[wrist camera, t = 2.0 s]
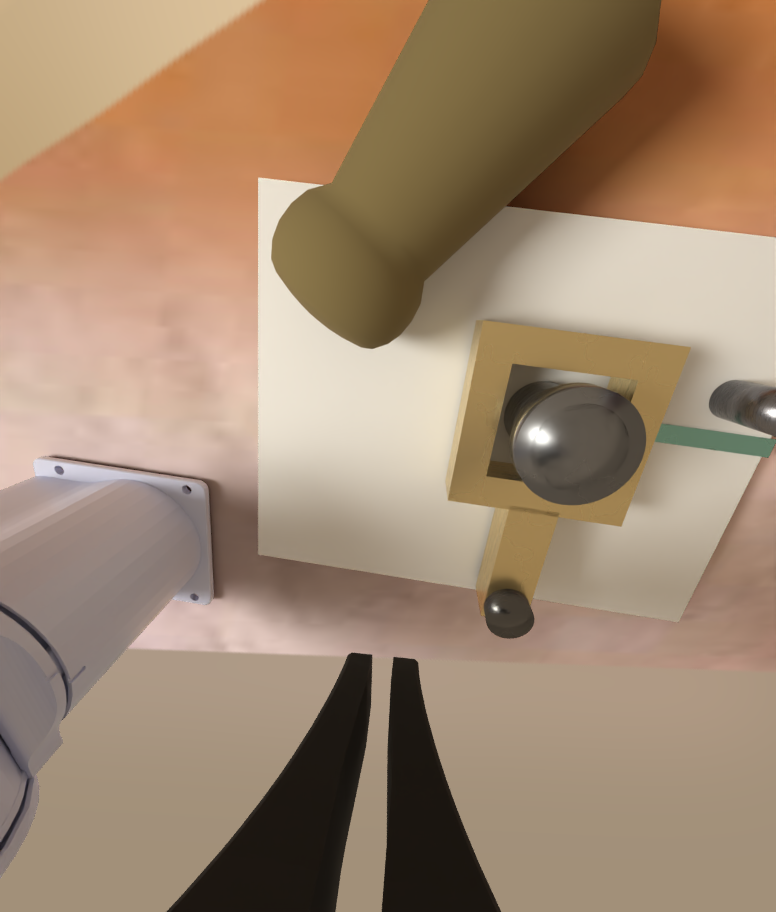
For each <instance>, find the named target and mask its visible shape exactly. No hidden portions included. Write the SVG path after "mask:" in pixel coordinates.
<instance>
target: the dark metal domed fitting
mask: <svg viewBox="0 0 776 912" xmlns="http://www.w3.org/2000/svg"><path fill="white" fill-rule="evenodd" d="M709 409H710V411H711V413H712V414H713V415H714V416H716V417H718V418H721V419H724V420H727V421H730V422H733V423H736V424H739V425H742V426H745V427H748V428H751V429H754V430H757V431H760V432H763V433H766V434H769V435H772V436H775V437H776V387H773V386H768V385H763V384H758V383H752V382H747V381H742V380H730V381H727V382H725V383H723V384H721V385H720V386H718V387H717V388H716V389H715V390H714V391H713V393H712V395H711V397H710V399H709ZM504 425H505V429H506V431H507V433H508V435H509V436H510V439H509V450H510V456H511V460H512V463H513V465H514V467H515V469H516V471H517V472H518V474H519V476H520V477H521V479H522V480H523V482H524V483H525V485H526V486H527V487H528V488H529V489H530V490H531V491H532V492H533V493H534V494H536V495H537V496H539V497H541V498H543V499H545V500H547V501H550V502H552V503H556V504H561V505H582V504H588V503H592V502H595V501H598V500H601V499H603V498H605V497H607V496H609V495H611V494H613V493H614V492H616V491H617V490H618V489H620V488H621V487H622V486H624V485H625V484H626V483H627V482H628V481H629V480H630V478H631V477H632V476H633V475H634V473H635V472H636V470H637V469H638V467H639V465H640V463H641V461H642V459H643V455H644V452H645V447H646V430H645V425H644V422H643V419H642V417H641V415H640V413H639V412H638V410H637V409H636V407H635V406H634V405H633V404H632V403H631V402H630V401H629V400H627V399H626V398H625V397H623V396H621V395H620V394H618V393H616V392H613V391H611V390H608V389H606V388H603V387H600V386H597V385H594V384H589V383H580V382H577V383H567V384H561V385H559V384H557V383H554V382H550V381H538V382H533V383H530V384H528V385H525V386H524V387H522V388H520V389H519V390H518V391H517V392H516V393H515V394H514V395H513V396H512V397H511V398H510V400H509V401H508V403H507V406H506V408H505V412H504ZM655 442H660V443H667V444H674V445H681V446H688V447H696V448H703V449H710V450H717V451H724V452H731V453H738V454H745V455H752V456H759V457H767V458H768V457H769V455H770V453H771V451H772V450H773V448H774V446H775V444H776V439H770V438H763V437H755V436H748V435H741V434H734V433H727V432H719V431H712V430H705V429H698V428H691V427H683V426H676V425H669V424H661V426H660V429H659V431H658V434H657V437H656V439H655Z"/></svg>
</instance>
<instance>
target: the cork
mask: <svg viewBox="0 0 776 912" xmlns="http://www.w3.org/2000/svg"><path fill="white" fill-rule="evenodd" d="M660 6H661V0H429V1H428V3H427V4H426V6H425V8H424V10H423V12H422V14H421V16H420V18H419V19H418V21H417V23H416V25H415V27H414V29H413V31H412V33H411V35H410V36H409V38H408V40H407V42H406V44H405V46H404V48H403V50H402V52H401V53H400V55H399V57H398V59H397V61H396V63H395V65H394V67H393V69H392V70H391V72H390V74H389V76H388V78H387V80H386V82H385V84H384V85H383V87H382V89H381V91H380V93H379V95H378V97H377V99H376V101H375V102H374V104H373V106H372V108H371V110H370V112H369V114H368V116H367V118H366V119H365V121H364V123H363V125H362V127H361V129H360V131H359V133H358V135H357V136H356V138H355V140H354V142H353V144H352V146H351V148H350V150H349V151H348V153H347V155H346V157H345V159H344V161H343V163H342V165H341V167H340V168H339V170H338V172H337V174H336V176H335V178H334V180H333V182H332V183H330V184H326V185H323V186H319V187H315V188H312V189H308V190H307V191H305V192H304V193H303V194H302V195H300V196H299V197H298V198H297V199H296V200H294V201H293V202H292V203H291V204H290V205H289V207H288V208H287V210H286V211H285V212H284V214H283V215H282V217H281V218H280V219H279V222H278V224H277V227H276V230H275V232H274V235H273V238H272V251H271V260H272V262H273V265H274V268H275V271H276V273H277V274H278V275H279V277H280V278H281V280H282V281H283V282H284V284H285V285H286V287H287V288H288V289H289V291H290V292H291V293H292V295H293V296H294V297H295V298H296V299H297V300H298V301H299V303H300V304H301V305H302V306H303V307H304V308H305V309H306V310H307V311H308V312H309V313H310V314H311V315H312V316H313V317H315V318H316V319H317V320H318V321H319V322H320V323H322V324H323V325H324V326H325V327H327V328H328V329H329V330H331V331H332V332H334V333H336V334H337V335H339V336H340V337H342V338H344V339H345V340H347V341H349V342H351V343H353V344H355V345H357V346H359V347H361V348H367V349H375V348H377V347H380V346H383V345H386V344H389V343H390V342H391V341H393V340H394V339H396V338H397V337H398V336H400V335H401V334H402V333H403V331H404V330H405V329H406V328H407V327H408V325H409V324H410V323H411V322H412V320H413V318H414V316H415V314H416V312H417V310H418V308H419V306H420V304H421V299H422V293H423V287H424V281H425V280H426V279H428V278H429V277H430V276H431V275H432V274H433V273H434V272H435V271H436V270H437V269H438V268H439V267H441V266H442V265H443V264H444V263H445V262H446V261H447V260H448V259H449V258H450V257H451V256H452V255H453V254H455V253H456V252H457V251H458V250H459V249H460V248H461V247H462V246H463V245H464V244H465V243H466V242H467V241H469V240H470V239H471V238H472V237H473V236H474V235H475V234H476V233H477V232H478V231H479V230H480V229H481V228H483V227H484V226H485V225H486V224H487V223H488V222H489V221H490V220H491V219H492V218H493V217H494V216H495V215H497V214H498V213H499V212H500V211H501V210H502V209H503V208H504V207H505V206H506V205H507V204H508V203H509V202H511V201H512V200H513V199H514V198H515V197H516V196H517V195H518V194H519V193H520V192H521V191H522V190H524V189H525V188H526V187H527V186H528V185H529V184H530V183H531V182H532V181H533V180H534V179H535V178H536V177H538V176H539V175H540V174H541V173H542V172H543V171H544V170H545V169H546V168H547V167H548V166H549V165H550V164H552V163H553V162H554V161H555V160H556V159H557V158H558V157H559V156H560V155H561V154H562V153H563V152H564V151H566V150H567V149H568V148H569V147H570V146H571V145H572V144H573V143H574V142H575V141H576V140H577V139H578V138H580V137H581V136H582V135H583V134H584V133H585V132H586V131H587V130H588V129H589V128H590V127H591V126H592V125H594V124H595V123H596V122H597V121H598V120H599V119H600V118H601V117H602V116H603V115H604V114H605V113H607V112H608V111H609V110H610V109H611V108H612V107H613V106H614V105H615V104H616V103H617V102H618V101H619V100H621V99H622V98H623V97H624V96H625V95H626V93H627V92H628V91H629V90H630V89H631V88H632V87H633V85H634V84H635V83H636V82H637V81H638V80H639V79H640V77H641V76H642V75H643V73H644V70H645V68H646V65H647V63H648V60H649V58H650V56H651V53H652V51H653V48H654V46H655V43H656V39H657V30H658V22H659V14H660Z"/></svg>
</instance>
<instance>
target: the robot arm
mask: <svg viewBox="0 0 776 912" xmlns="http://www.w3.org/2000/svg"><path fill="white" fill-rule="evenodd" d="M33 467H34V471H35V477H32V478H30V479H27V480H25V481H22V482H20V483H17V484H15V485H12V486H10V487H8V488H5V489H3V490H0V878H1V877H2V875H3V873H4V872H5V871H6V869H7V868H8V866H9V864H10V863H11V862H12V860H13V859H14V857H15V856H16V854H17V852H18V850H19V848H20V846H21V845H22V843H23V841H24V839H25V838H26V836H27V834H28V831H29V829H30V827H31V824H32V822H33V819H34V817H35V814H36V810H37V806H38V802H39V783H38V779H37V776H36V774H37V773H38V771H39V770H40V769H41V768H42V766H43V765H44V764H45V763H46V762H47V761H48V760H49V758H50V757H51V756H52V755H53V754H54V753H55V751H56V750H57V749H58V748H59V747H60V746H61V744H62V743H63V740H62V737H61V736H60V731H59V725H60V723H61V721H62V720H63V719H64V718H65V717H66V716H67V715H68V714H69V712H70V711H71V710H72V709H73V708H74V707H75V706H76V705H77V704H78V702H79V701H80V700H81V699H82V698H83V697H84V696H85V695H86V694H87V693H88V691H89V690H90V689H91V688H92V687H93V686H94V685H95V684H96V683H97V681H98V680H99V679H100V678H101V677H102V676H103V675H104V674H105V673H106V672H107V670H108V669H109V668H110V667H111V666H112V665H113V664H114V663H115V662H116V660H117V659H118V658H119V657H120V656H121V655H122V654H123V653H124V652H125V650H126V649H127V648H128V647H129V646H130V645H131V644H132V643H133V642H134V641H135V639H136V638H137V637H138V636H139V635H140V634H141V633H142V632H143V631H144V629H145V628H146V627H147V626H148V625H149V624H150V623H151V622H152V621H153V620H154V618H155V617H156V616H157V615H158V614H159V613H160V612H161V611H162V610H163V608H164V607H165V606H166V605H167V604H168V603H169V602H170V601H171V600H172V599H173V600H179V601H185V602H191V603H197V604H202V605H207V604H209V603H210V602H211V601H212V600H213V598H214V586H213V566H212V546H211V526H210V505H209V489H208V486H207V485H206V483H204V482H203V481H201V480H196V479H189V478H183V477H176V476H170V475H163V474H157V473H150V472H144V471H137V470H131V469H124V468H118V467H111V466H105V465H98V464H92V463H85V462H79V461H72V460H66V459H59V458H52V457H46V456H45V457H40V458H37V459H35V460H34V462H33ZM62 468H63V469H62ZM186 485H187V486H189V487H190V488H191V490H192V491H189V490H188V489H187V487H186ZM195 594H197V595H198V596H197V595H195ZM371 682H372V655H370V654H360V653H350V654H349V655H348V656H347V659H346V661H345V664H344V666H343V669H342V671H341V673H340V675H339V677H338V679H337V681H336V683H335V685H334V688H333V689H332V691H331V693H330V695H329V697H328V699H327V701H326V702H325V704H324V706H323V707H322V709H321V711H320V713H319V714H318V716H317V718H316V720H315V721H314V723H313V725H312V727H311V728H310V730H309V731H308V733H307V734H306V736H305V738H304V739H303V741H302V742H301V744H300V745H299V747H298V749H297V750H296V752H295V753H294V755H293V756H292V758H291V759H290V761H289V762H288V764H287V765H286V767H285V768H284V770H283V771H282V773H281V774H280V775H279V777H278V778H277V780H276V781H275V782H274V784H273V785H272V786H271V788H270V789H269V791H268V792H267V793H266V795H265V796H264V798H263V799H262V800H261V801H260V803H259V804H258V805H257V807H256V808H255V809H254V810H253V812H252V813H251V814H250V815H249V817H248V818H247V819H246V821H245V822H244V823H243V825H242V826H241V827H240V828H239V829H238V831H237V832H236V833H235V834H234V836H233V837H232V838H231V839H230V841H229V842H228V843H227V844H226V845H225V847H224V848H223V849H222V850H221V851H220V852H219V854H218V855H217V856H216V857H215V858H214V859H213V860H212V862H211V863H210V864H209V865H208V866H207V867H206V869H204V871H203V872H202V873H201V874H200V875H199V876H198V877H197V879H196V880H195V881H194V882H193V883H192V884H191V885H190V887H189V888H188V889H187V890H186V891H185V892H184V894H183V895H182V896H181V897H180V898H179V899H178V900H177V901H176V902H175V903H174V904H173V905H172V906H171V908H170V909H169V910H168V911H167V912H335V910H336V902H337V896H338V888H339V881H340V873H341V868H342V862H343V857H344V851H345V845H346V841H347V836H348V831H349V826H350V821H351V816H352V811H353V807H354V802H355V797H356V792H357V787H358V783H359V778H360V773H361V768H362V763H363V758H364V753H365V748H366V742H367V733H368V725H369V717H370V708H371V684H372V683H371ZM387 775H388V776H387V849H386V862H385V877H384V889H383V890H384V891H383V902H382V912H501V911H500V908H499V906H498V904H497V902H496V900H495V897H494V895H493V893H492V891H491V889H490V886H489V884H488V882H487V880H486V878H485V876H484V873H483V871H482V869H481V867H480V864H479V862H478V860H477V858H476V855H475V853H474V850H473V848H472V846H471V843H470V841H469V839H468V836H467V833H466V831H465V829H464V826H463V824H462V822H461V818H460V816H459V813H458V811H457V808H456V805H455V803H454V800H453V797H452V795H451V792H450V789H449V786H448V783H447V781H446V777H445V774H444V771H443V769H442V765H441V762H440V759H439V756H438V753H437V749H436V746H435V743H434V739H433V736H432V732H431V728H430V725H429V721H428V717H427V714H426V709H425V705H424V700H423V695H422V690H421V684H420V678H419V668H418V662H417V661H416V660H415V659H408V658H398V657H394V659H393V668H392V677H391V693H390V714H389V732H388V764H387Z"/></svg>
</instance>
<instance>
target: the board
mask: <svg viewBox="0 0 776 912" xmlns="http://www.w3.org/2000/svg"><path fill="white" fill-rule="evenodd" d="M319 186H323V185H318V184H309V183H301V182H292V181H283V180H275V179H266V178H258V555H263V556H270V557H276V558H282V559H288V560H294V561H300V562H307V563H313V564H319V565H325V566H331V567H338V568H344V569H350V570H356V571H362V572H369V573H375V574H381V575H387V576H393V577H400V578H406V579H412V580H418V581H424V582H431V583H437V584H443V585H449V586H455V587H462V588H468V589H474V590H476V587H475V586H476V582H477V578H478V574H479V570H480V566H481V562H482V558H483V554H484V550H485V546H486V542H487V538H488V534H489V530H490V526H491V522H492V518H493V514H494V510H495V508H494V507H487V506H481V505H474V504H467V503H461V502H454V501H448V499H447V491H446V483H445V480H446V474H447V469H448V464H449V459H450V454H451V448H452V443H453V438H454V433H455V428H456V422H457V417H458V412H459V407H460V401H461V396H462V391H463V386H464V381H465V375H466V370H467V365H468V360H469V355H470V349H471V344H472V339H473V334H474V328H475V323H476V320H486V321H493V322H501V323H509V324H516V325H524V326H532V327H540V328H547V329H555V330H563V331H571V332H578V333H586V334H594V335H601V336H609V337H617V338H625V339H632V340H640V341H648V342H655V343H663V344H671V345H679V346H686V347H691V349H690V352H689V354H688V357H687V359H686V362H685V365H684V367H683V370H682V372H681V375H680V377H679V380H678V383H677V385H676V388H675V390H674V393H673V395H672V398H671V401H670V403H669V406H668V408H667V411H666V413H665V416H664V419H663V421H662V424H669V425H676V426H683V427H691V428H698V429H705V430H712V431H719V432H727V433H734V434H741V435H748V436H755V437H763V438H770V439H771V437H772V435H769V434H766V433H763V432H760V431H757V430H754V429H751V428H748V427H745V426H742V425H739V424H736V423H733V422H730V421H727V420H724V419H721V418H718V417H716V416H714V415H713V414H712V413H711V411H710V409H709V399H710V397H711V395H712V393H713V391H714V390H715V389H716V388H717V387H718V386H720V385H721V384H723V383H725V382H727V381H730V380H742V381H747V382H752V383H758V384H763V385H768V386H773V387H776V237H767V236H759V235H750V234H741V233H733V232H724V231H715V230H707V229H698V228H689V227H681V226H672V225H664V224H655V223H646V222H638V221H629V220H620V219H612V218H603V217H594V216H586V215H577V214H568V213H560V212H551V211H543V210H534V209H525V208H517V207H508V206H505V207H504V208H503V209H502V210H501V211H500V212H499V213H498V214H497V215H495V216H494V217H493V218H492V219H491V220H490V221H489V222H488V223H487V224H486V225H485V226H484V227H483V228H481V229H480V230H479V231H478V232H477V233H476V234H475V235H474V236H473V237H472V238H471V239H470V240H469V241H467V242H466V243H465V244H464V245H463V246H462V247H461V248H460V249H459V250H458V251H457V252H456V253H455V254H453V255H452V256H451V257H450V258H449V259H448V260H447V261H446V262H445V263H444V264H443V265H442V266H441V267H439V268H438V269H437V270H436V271H435V272H434V273H433V274H432V275H431V276H430V277H429V278H428V279H426V280H425V281H424V287H423V293H422V299H421V304H420V306H419V308H418V310H417V312H416V314H415V316H414V318H413V320H412V322H411V323H410V324H409V325H408V327H407V328H406V329H405V330H404V331H403V333H402V334H401V335H400V336H398V337H397V338H396V339H394V340H393V341H391V342H390V343H389V344H386V345H383V346H380V347H377V348H375V349H367V348H361V347H359V346H357V345H355V344H353V343H351V342H349V341H347V340H345V339H344V338H342V337H340V336H339V335H337V334H336V333H334V332H332V331H331V330H329V329H328V328H327V327H325V326H324V325H323V324H322V323H320V322H319V321H318V320H317V319H316V318H315V317H313V316H312V315H311V314H310V313H309V312H308V311H307V310H306V309H305V308H304V307H303V306H302V305H301V304H300V303H299V301H298V300H297V299H296V298H295V297H294V296H293V295H292V293H291V292H290V291H289V289H288V288H287V287H286V285H285V284H284V282H283V281H282V280H281V278H280V277H279V275H278V274H277V273H276V271H275V268H274V265H273V262H272V260H271V251H272V238H273V235H274V232H275V230H276V227H277V224H278V222H279V219H280V218H281V217H282V215H283V214H284V212H285V211H286V210H287V208H288V207H289V205H290V204H291V203H292V202H293V201H294V200H296V199H297V198H298V197H299V196H300V195H302V194H303V193H304V192H305V191H307V190H308V189H312V188H315V187H319ZM609 380H610V377H609V376H601V375H594V374H587V373H579V372H572V371H564V370H557V369H549V368H542V367H534V366H527V365H519V364H512V367H511V372H510V376H509V380H508V384H507V389H506V393H505V397H504V402H503V406H502V410H501V415H500V419H499V423H498V427H497V432H496V436H495V440H494V445H493V449H492V453H491V458H490V460H491V461H498V462H505V463H512V460H511V456H510V450H509V439H510V436H509V435H508V433H507V431H506V429H505V425H504V412H505V408H506V406H507V403H508V401H509V400H510V398H511V397H512V396H513V395H514V394H515V393H516V392H517V391H518V390H519V389H520V388H522V387H524V386H525V385H528V384H530V383H533V382H538V381H550V382H554V383H557V384H559V385H561V384H567V383H577V382H580V383H589V384H594V385H597V386H600V387H603V388H606V389H607V387H608V383H609ZM760 459H761V457H759V456H752V455H745V454H738V453H731V452H724V451H717V450H710V449H703V448H696V447H688V446H681V445H674V444H667V443H660V442H654V444H653V447H652V449H651V452H650V455H649V457H648V460H647V462H646V465H645V467H644V470H643V472H642V475H641V478H640V480H639V483H638V485H637V488H636V490H635V493H634V496H633V498H632V501H631V503H630V506H629V508H628V511H627V514H626V516H625V519H624V521H623V524H622V526H621V527H619V526H613V525H606V524H600V523H593V522H586V521H580V520H573V519H566V518H560V517H558V520H557V524H556V527H555V530H554V533H553V536H552V539H551V542H550V546H549V549H548V552H547V555H546V558H545V561H544V564H543V567H542V571H541V574H540V577H539V580H538V583H537V586H536V589H535V593H534V596H533V599H536V600H542V601H548V602H555V603H561V604H567V605H573V606H579V607H586V608H592V609H598V610H604V611H610V612H617V613H623V614H629V615H635V616H641V617H648V618H654V619H660V620H666V621H672V622H679V621H680V619H681V617H682V615H683V613H684V611H685V609H686V607H687V605H688V603H689V601H690V599H691V597H692V595H693V593H694V591H695V589H696V587H697V585H698V583H699V581H700V579H701V577H702V575H703V573H704V571H705V569H706V567H707V565H708V563H709V561H710V559H711V557H712V555H713V553H714V551H715V549H716V547H717V545H718V543H719V541H720V539H721V537H722V535H723V533H724V531H725V529H726V527H727V525H728V523H729V521H730V519H731V517H732V515H733V513H734V511H735V509H736V507H737V505H738V503H739V501H740V499H741V497H742V495H743V493H744V491H745V489H746V487H747V485H748V483H749V481H750V479H751V477H752V475H753V473H754V471H755V469H756V467H757V465H758V463H759V461H760ZM512 464H513V463H512Z"/></svg>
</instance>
